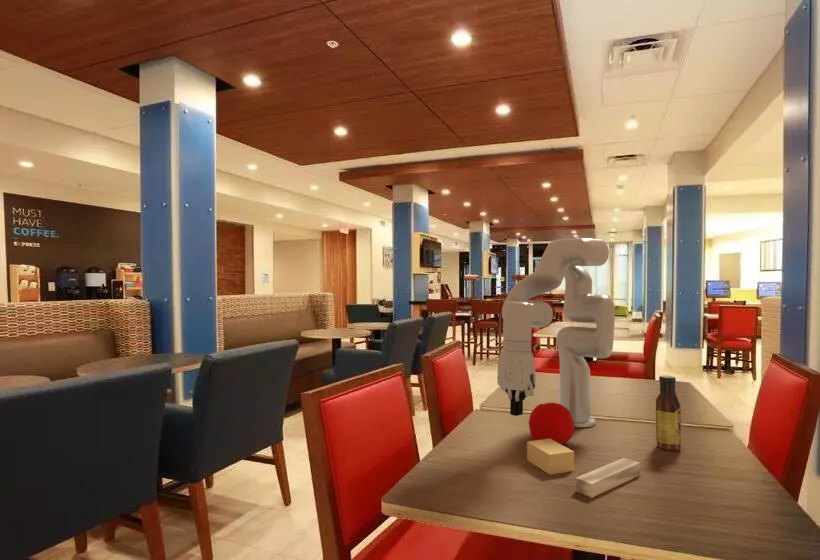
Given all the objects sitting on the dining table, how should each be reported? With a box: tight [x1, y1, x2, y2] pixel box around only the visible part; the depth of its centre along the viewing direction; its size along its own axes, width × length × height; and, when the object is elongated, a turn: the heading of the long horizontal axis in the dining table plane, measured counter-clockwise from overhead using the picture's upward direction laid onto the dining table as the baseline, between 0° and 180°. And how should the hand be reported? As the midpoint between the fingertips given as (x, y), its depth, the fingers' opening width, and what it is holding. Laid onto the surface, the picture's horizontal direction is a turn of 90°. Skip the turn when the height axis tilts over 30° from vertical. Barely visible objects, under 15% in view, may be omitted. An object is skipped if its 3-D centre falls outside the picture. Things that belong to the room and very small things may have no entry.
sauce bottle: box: [655, 375, 682, 452], centre depth 133 cm, size 6×6×20 cm
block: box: [526, 439, 575, 475], centre depth 121 cm, size 10×7×5 cm
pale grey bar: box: [575, 457, 641, 499], centre depth 110 cm, size 4×20×3 cm, turn 126°
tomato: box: [528, 402, 575, 445], centre depth 137 cm, size 13×13×13 cm
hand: (516, 414), depth 129 cm, fingers closed
